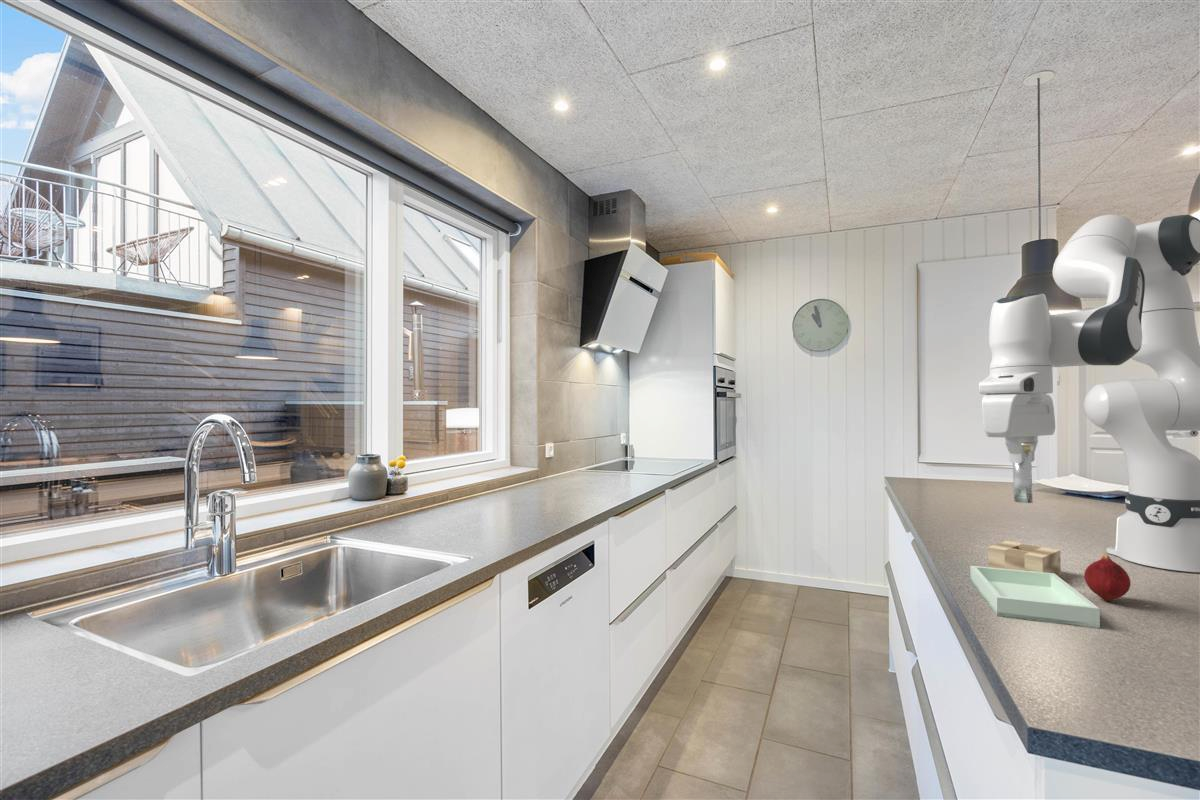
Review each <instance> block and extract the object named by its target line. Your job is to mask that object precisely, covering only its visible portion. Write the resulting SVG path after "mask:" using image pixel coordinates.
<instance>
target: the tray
mask: <svg viewBox="0 0 1200 800" xmlns="http://www.w3.org/2000/svg"><path fill="white" fill-rule="evenodd" d="M970 582H971V584H972V585H973V586H974V588H975V589H976V590H977V591H978V593H979V594H980V596H981V597H982V599H984V600H985V602H986V603H987V604H988V605H989V607H990V608H991V609H992V611H993V612H994V614H995V615H996V616H997V617H1007V618H1012V619H1013V618H1014V619H1021V620H1031V621H1037V622H1046V623H1054V624H1061V625H1068V626H1069V625H1071V626H1079V627H1086V628H1096V629H1100V628H1101V626H1100V625H1101V623H1100V622H1101V619H1100V618H1101V617H1100V615H1101V614H1100V612H1101V611H1100V608H1099V607H1098V606H1097V605H1096V604H1094V603H1093V602H1092V601H1090V600H1089V599H1088V598H1087V597H1085V596H1084V595H1083V594H1082V593H1080V592H1079V591H1078V590H1076V589H1075V588H1074V587H1072V586H1071V584H1069V583H1067V582H1066V581H1065V580H1063V579H1062V578H1061V577H1060V576H1057V575H1056V574H1055V573H1045V572H1034V571H1023V570H1012V569H1001V568H991V567H988V566H979V565H978V566H977V565H970Z"/></svg>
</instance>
